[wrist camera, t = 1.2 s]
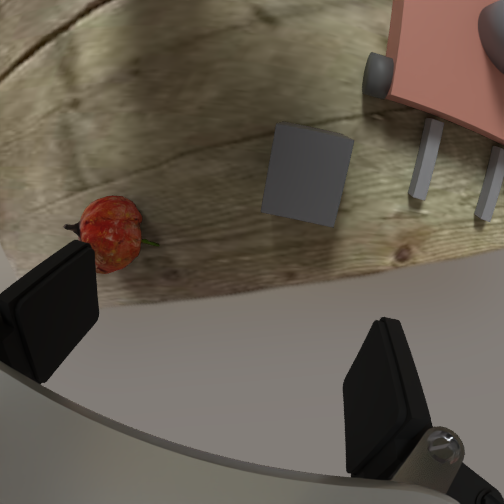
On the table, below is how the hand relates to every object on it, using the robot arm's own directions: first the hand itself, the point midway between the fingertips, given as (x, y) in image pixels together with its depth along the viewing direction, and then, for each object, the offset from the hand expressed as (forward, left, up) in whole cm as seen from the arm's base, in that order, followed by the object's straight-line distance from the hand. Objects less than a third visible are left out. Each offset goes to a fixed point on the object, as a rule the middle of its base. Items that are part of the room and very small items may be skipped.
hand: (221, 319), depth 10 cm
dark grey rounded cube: (-2, +2, -20) cm, 20 cm away
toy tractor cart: (-14, +16, -20) cm, 29 cm away
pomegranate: (+7, -14, -20) cm, 25 cm away
